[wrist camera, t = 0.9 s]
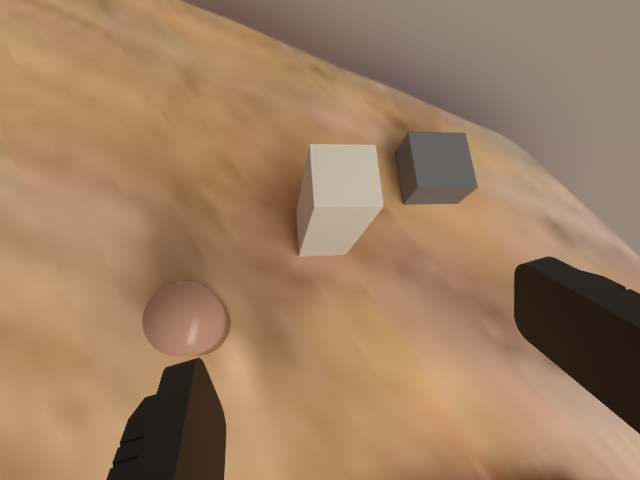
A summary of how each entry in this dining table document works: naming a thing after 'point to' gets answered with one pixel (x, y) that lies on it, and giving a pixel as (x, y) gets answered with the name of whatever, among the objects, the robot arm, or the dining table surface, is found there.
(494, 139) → the dining table surface
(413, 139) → the grey squat block
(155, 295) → the pink rounded pebble
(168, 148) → the dining table surface
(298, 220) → the tall cream block
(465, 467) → the dining table surface
